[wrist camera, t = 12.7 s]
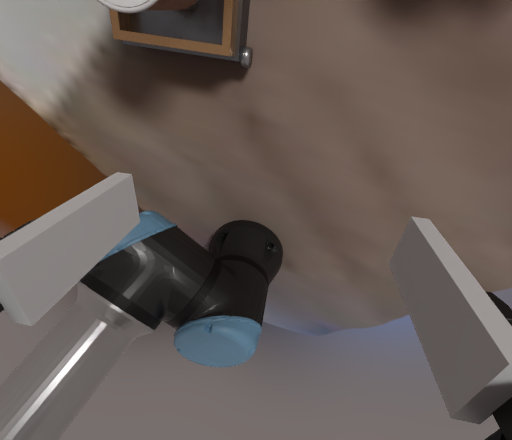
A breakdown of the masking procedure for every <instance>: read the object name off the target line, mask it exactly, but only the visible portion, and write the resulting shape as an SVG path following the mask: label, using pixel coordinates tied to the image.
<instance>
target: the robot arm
mask: <svg viewBox="0 0 512 440" xmlns="http://www.w3.org/2000/svg"><path fill="white" fill-rule="evenodd" d="M282 257H283V250H282V246H281V243H280V241H279V239H278V238H277V236H276V235H275V234H274V233H273V232H272V231H271V230H269V229H268V228H267V227H265V226H263V225H261V224H259V223H256V222H252V221H246V220H239V221H233V222H229V223H227V224H225V225H223V226H222V227H221V228H219V229H218V231H217V232H216V233H215V235H214V237H213V239H212V241H211V244H210V250H209V252H208V251H207V250H205V249H204V248H203V247H202V246H200V245H199V244H198V243H197V242H195V241H194V240H193V239H192V238H190V237H189V236H188V235H187V234H185V233H184V232H183V231H182V230H180V229H179V228H178V227H177V225H176V224H175V223H172V222H170V221H169V220H167V219H166V218H165V217H163V216H162V215H160V214H159V213H157V212H155V211H144V212H141V213H139V212H138V206H137V201H136V195H135V190H134V184H133V179H132V174H126V173H119V172H117V173H115V174H113V175H111V176H110V177H108V178H106V179H105V180H103V181H101V182H100V183H98V184H96V185H94V186H93V187H91V188H89V189H88V190H86V191H84V192H83V193H81V194H79V195H77V196H76V197H74V198H72V199H71V200H69V201H67V202H66V203H64V204H62V205H60V206H59V207H57V208H55V209H54V210H52V211H50V212H48V213H47V214H45V215H43V216H42V217H40V218H38V219H35V220H32V221H29V222H27V223H26V224H24V225H22V226H20V227H19V228H17V229H16V230H15V231H12V232H10V233H8V234H7V235H5V236H4V238H0V312H1V311H3V310H4V311H5V312H6V314H7V315H8V317H9V318H10V320H11V321H12V322H16V323H21V324H25V325H30V326H33V325H34V324H35V323H36V322H37V321H38V320H39V319H40V318H41V317H42V316H43V315H44V314H45V313H46V312H47V311H48V310H49V309H50V308H51V307H52V306H53V305H54V304H56V302H58V301H59V300H60V298H61V297H62V296H64V295H65V294H66V293H67V292H68V291H69V290H70V289H71V288H72V287H73V286H74V285H75V284H76V283H77V282H78V281H79V280H80V279H81V278H82V277H83V278H82V279H81V280H80V281H79V282H78V299H77V302H76V303H75V304H74V306H73V307H72V308H71V309H70V310H69V311H68V312H67V313H66V314H65V315H64V316H63V317H62V319H61V320H60V321H59V322H58V323H57V324H56V325H55V326H54V327H53V328H52V329H51V331H50V332H49V333H48V334H47V335H46V336H45V337H44V338H43V339H42V340H41V341H40V342H39V343H38V345H37V346H36V347H35V348H34V349H33V350H32V351H31V352H30V353H29V354H28V355H27V356H26V357H25V359H24V360H23V361H22V362H21V363H20V364H19V365H18V366H17V367H16V368H15V370H13V372H12V373H11V374H10V375H9V376H8V377H7V378H6V379H5V380H4V382H2V384H1V385H0V440H59V439H60V437H61V436H62V435H63V433H64V432H65V431H66V429H67V428H68V427H69V425H70V424H71V423H72V421H73V420H74V419H75V417H76V416H77V415H78V413H79V412H80V411H81V409H82V408H83V407H84V405H85V404H86V403H87V401H88V400H89V399H90V397H91V396H92V395H93V393H94V392H95V391H96V389H97V388H98V387H99V385H100V384H101V383H102V381H103V380H104V379H105V377H106V376H107V375H108V373H109V372H110V371H111V369H112V368H113V367H114V365H115V364H116V363H117V361H118V360H119V359H120V357H121V356H122V355H123V353H124V352H125V351H126V349H127V348H128V347H129V345H130V344H131V342H132V341H133V340H134V339H135V338H137V337H138V336H142V335H146V334H149V333H153V332H154V330H155V329H156V328H157V327H158V325H159V324H160V322H161V321H162V320H163V321H164V322H166V323H168V324H169V325H171V326H172V327H173V328H175V329H176V332H175V334H174V346H175V347H176V348H177V351H178V352H179V353H180V354H181V355H182V356H183V357H185V358H186V359H188V360H190V361H193V362H195V363H198V364H201V365H205V366H211V367H232V366H236V365H239V364H242V363H244V362H246V361H247V360H249V359H250V358H251V357H252V356H253V354H254V352H255V350H256V347H257V343H258V340H259V336H260V334H261V331H262V328H261V327H262V321H263V315H264V309H265V303H266V297H267V292H268V286H269V284H270V283H271V281H272V280H273V278H274V277H275V275H276V274H277V273H278V271H279V269H280V267H281V263H282ZM389 265H390V268H391V270H392V273H393V275H394V278H395V280H396V283H397V285H398V288H399V290H400V293H401V295H402V298H403V300H404V302H405V305H406V307H407V310H408V312H409V315H410V317H411V320H412V322H413V325H414V327H415V330H416V332H417V335H418V337H419V340H420V342H421V345H422V347H423V350H424V352H425V355H426V357H427V360H428V362H429V365H430V367H431V370H432V372H433V375H434V377H435V380H436V382H437V384H438V387H439V389H440V392H441V395H442V397H443V400H444V402H445V405H446V407H447V410H448V412H449V415H450V417H451V418H454V419H458V420H463V421H467V422H472V423H476V424H481V423H482V422H483V421H484V420H486V419H487V418H488V417H489V416H491V415H492V414H493V416H494V418H495V420H496V422H497V423H498V425H499V427H500V429H499V430H497V431H496V432H495V433H493V434H492V435H490V436H489V437H488V438H486V439H485V440H512V310H511V309H510V307H509V306H508V305H507V304H505V303H504V302H503V301H502V300H500V299H499V298H498V297H497V296H495V295H494V294H493V293H491V292H485V291H484V290H483V288H482V287H481V286H480V284H479V283H478V282H477V281H476V279H475V278H474V277H473V275H472V274H471V273H470V271H469V270H468V269H467V268H466V266H465V265H464V264H463V262H462V261H461V260H460V258H459V257H458V256H457V255H456V253H455V252H454V251H453V249H452V248H451V247H450V245H449V244H448V243H447V242H446V240H445V239H444V238H443V236H442V235H441V234H440V232H439V231H438V230H437V229H436V227H435V226H434V225H433V223H432V222H431V221H430V219H424V218H417V217H411V218H410V220H409V222H408V224H407V226H406V229H405V231H404V233H403V235H402V237H401V239H400V241H399V244H398V246H397V248H396V250H395V252H394V254H393V256H392V258H391V261H390V263H389Z"/></svg>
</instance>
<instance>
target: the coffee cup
mask: <svg viewBox="0 0 512 440" xmlns="http://www.w3.org/2000/svg"><path fill="white" fill-rule="evenodd" d="M97 1H98V2H100V3H101V4H103V5H104V6H106V7H108V8H110V9H112V10H115V11H118V12H122V13H137V12H141V11H144V10H182V9H186V8H189V7H191V6H192V5H194V4H195V3H196V2H197V1H198V0H106V1H105V0H97ZM113 4H114V5H113ZM116 5H117V6H116Z"/></svg>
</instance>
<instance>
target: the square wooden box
mask: <svg viewBox="0 0 512 440" xmlns="http://www.w3.org/2000/svg"><path fill="white" fill-rule="evenodd" d="M113 5H114V4H113ZM249 5H250V0H198V1H197V2H196V3H195V4H194V5H192V6H191V7H189V8H186V9H182V10H144V11H141V12H137V13H122V12H118V11H115V10H112V9H110V8H109V9H110V16H111V23H112V30H113V37H114V39H119V40H122V43H123V44H127V45H134V46H140V47H147V48H153V49H160V50H166V51H173V52H180V53H186V54H193V55H199V56H206V57H212V58H219V59H225V60H232V61H240V67H243V68H250V67H251V64H252V56H253V50H252V48H251V47H246V40H247V29H248V17H249ZM116 6H117V5H116Z"/></svg>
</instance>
